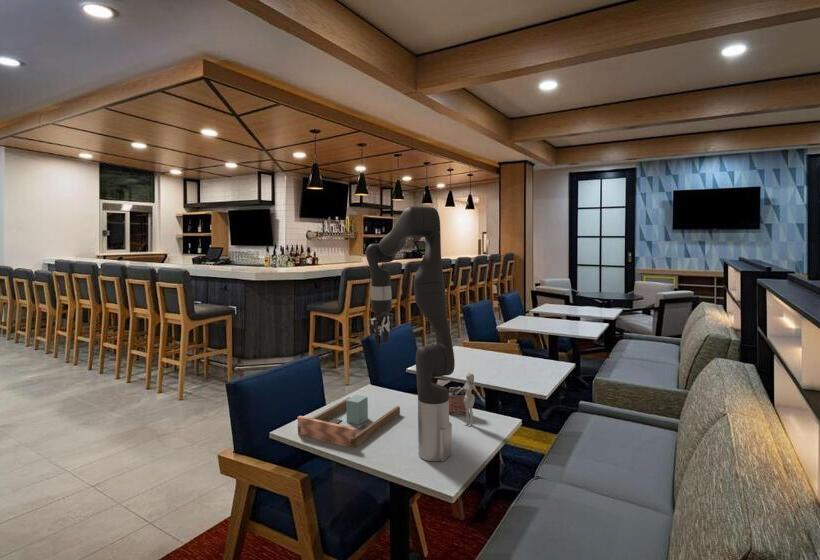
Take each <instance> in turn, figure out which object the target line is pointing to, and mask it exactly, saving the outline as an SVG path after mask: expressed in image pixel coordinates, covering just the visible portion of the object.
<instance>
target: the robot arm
mask: <svg viewBox="0 0 820 560" xmlns="http://www.w3.org/2000/svg"><path fill="white" fill-rule="evenodd" d="M441 234H442V233H441V218H440V215H439V212H438V210H437V209H436V208H435V207H433V206H418V205H417V206H415V205H414V206H408V207H406V208H405V209H404V210H403V211H402V213H401V214H400V216H399V217H398V219H397V220H396V222H395V224H394V225H393V227H392V229H391V230H390V231H389V232H388V233H387V234H386V235H385V236H383V238H381V239H380V241H379V243H370V244H369V245H368V246H367V247H366V250H365V256H366V260H367V264H368V267H369V271H370V279H371V288H370V289H371V290H370V303H371V304H370V305H371V311H372V312H373V314H374V315H373V318H369V320H368V321H369V322H368V323H369V329H370V333H371V334H372V335H374V337H375V338H374V339H375V340H374V344H375V346H381V345H382V342H383V343H388V342H389V341H390V339H389V338H390V334H389V333H390V332H391V330H393V325H394V313H390V311H392V308H393V306H392V305H393V301H392V299H393V298H392V283H391V281H392V280H391V278H392V277H391V276H392V275H391V271H390V270H388V269H385V268H381V267H380V265H379V264H381V263H382V264H384V263H387V264H388V263H391V262H393V261H394V259H395V258H396V255H397V253H399V252H400V251H401V250H402V249H404V247H405V246H406V243H407V237H413V238H424V240H425V242H424V243H425V246H424V248H425V250H424V255H423V257H422V260H421V262H420V264H419V266H418V268H417V270H416V272H415V275H414V277H413V291H414V292H413V293H414V301H415V303H416V306H417V307H418V309H419V310H420V312H421V313H422V314H423V316H424V318H425V319H426V320H427V321H428V322H429V324H430V326H431V327H432V329H433V330H434V331H433V332H434V334H435V337H436V341H437V344H433V345H422V346H421V345H420V346H419V347H418V348H417V349H416V352H415V371H416V389H417V390H416V391H417V424H418V425H417V426H418V428H417V432H418V433H417V434H418V435H417V437H418V440H417V443H418V444H417V445H418V447H417V449H418V456H419V457H420V459H422V460H423V461H424V460H425V461H429V462H446V460H447V459H448V457H450V456H451V454H452V453H453V451H452V450H453V449H452V448H453V445H452V444H453V443H452V440H453V439H452V438H453V437H452V435H453V434H452V432H453V429H452V425H453V424H452V422H450V415H449V393H450V391H449V388H447V387H446V386H444V385H441V384H437V383H433V382H432V378H437V377H445V376H446V377H447V376H450V375H452V374H453V373H454V370H455V353H454V347H453V342H452V336H451V332H450V326H449V325H450V324H449V319H448V309H447V301H446V300H447V297H446V295H447V294H446V287H445V279H444V272H443V263H442V262H443V260H442V247H441V246H442V244H441V242H442V239H441ZM382 331H383V332H382Z"/></svg>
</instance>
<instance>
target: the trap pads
mask: <svg viewBox="0 0 820 560" xmlns="http://www.w3.org/2000/svg"><path fill="white" fill-rule="evenodd" d="M326 422H330V423H335V424H339V423H341V422H343V420H342V419H339V418H335V417H331V418H329V419H328V420H326ZM368 426H369V425H368V424H367V425H366V424H362V425H361V426H359V427H358V428H356V434H357V433H359V432H360V431H362V430H363V429H365V428H366V427H368Z"/></svg>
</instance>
